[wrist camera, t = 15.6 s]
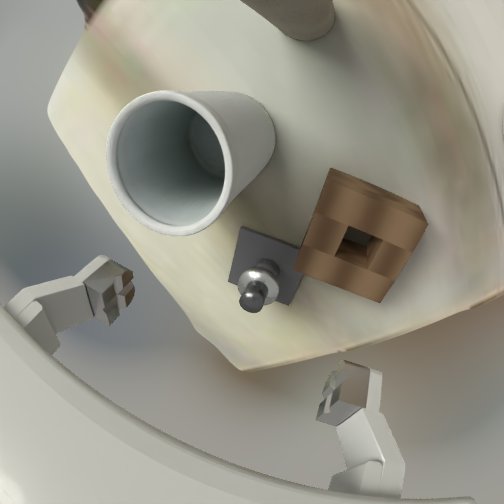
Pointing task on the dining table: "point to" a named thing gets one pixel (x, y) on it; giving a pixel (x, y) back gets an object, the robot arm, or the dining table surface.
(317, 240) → the socket block
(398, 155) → the dining table surface
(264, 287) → the end cover
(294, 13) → the thermos bottle
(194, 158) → the utensil holder
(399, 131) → the dining table surface
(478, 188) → the dining table surface
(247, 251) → the mat
